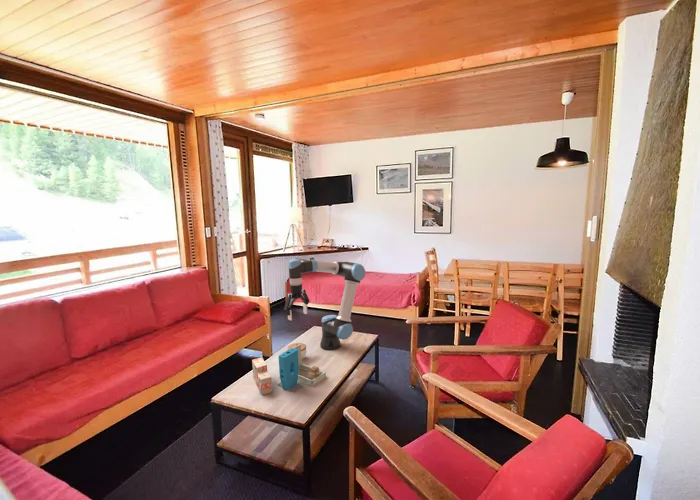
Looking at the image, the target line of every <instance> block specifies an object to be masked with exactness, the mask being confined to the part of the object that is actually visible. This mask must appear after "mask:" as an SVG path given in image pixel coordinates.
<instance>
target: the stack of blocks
mask: <svg viewBox="0 0 700 500" xmlns="http://www.w3.org/2000/svg"><path fill="white" fill-rule="evenodd" d="M251 364H252V365H251V366H252V375H253V381H254V382H255V385H256V386H257V388H258V391H259V394H260V395H261V396H263V395H266V394H270V393H272V392H273V388H272V387H273V386H272V384H273V383H272V376H271V374H270V372H269V370H268V365H267V363H266V362H265V360H264V358H263V356H262V357H261V356H260V357H258V358H254V359H251Z"/></svg>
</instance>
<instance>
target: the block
mask: <svg viewBox="0 0 700 500" xmlns="http://www.w3.org/2000/svg"><path fill="white" fill-rule="evenodd" d="M278 367H279V371H278V372H279V379H280V380H279V381H280V382H281V384H282V387H281V388H282V389H285V390H288V391H290V390H289V389H290V388H292V387H293V386H294V385H296V384H298V382H299V380H298V375H300V374H299V373H300V369H299V365H298V349H295V348H291V349H289V350H288V349H287V350H285V351H283V352H282V353H280V354H278Z"/></svg>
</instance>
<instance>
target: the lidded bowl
mask: <svg viewBox="0 0 700 500" xmlns="http://www.w3.org/2000/svg"><path fill="white" fill-rule="evenodd" d="M299 344H301V357H302V360H303V359H304V358H305V357H306V355H307V354H306V353H307V344H305V343H303V342H294V343H291V344H289V345H288V346H287V350H289V349H291V348H293V347H295V346H297V345H299Z"/></svg>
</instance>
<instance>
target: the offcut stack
mask: <svg viewBox="0 0 700 500" xmlns="http://www.w3.org/2000/svg"><path fill="white" fill-rule="evenodd" d="M311 367H312V368H310V372H308V376H307V378H308V379H310V380H313V379H314V378H316V377H318V376H319V375H320V374H319V370H320V367H319V366H317V365H313V366H311Z"/></svg>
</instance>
